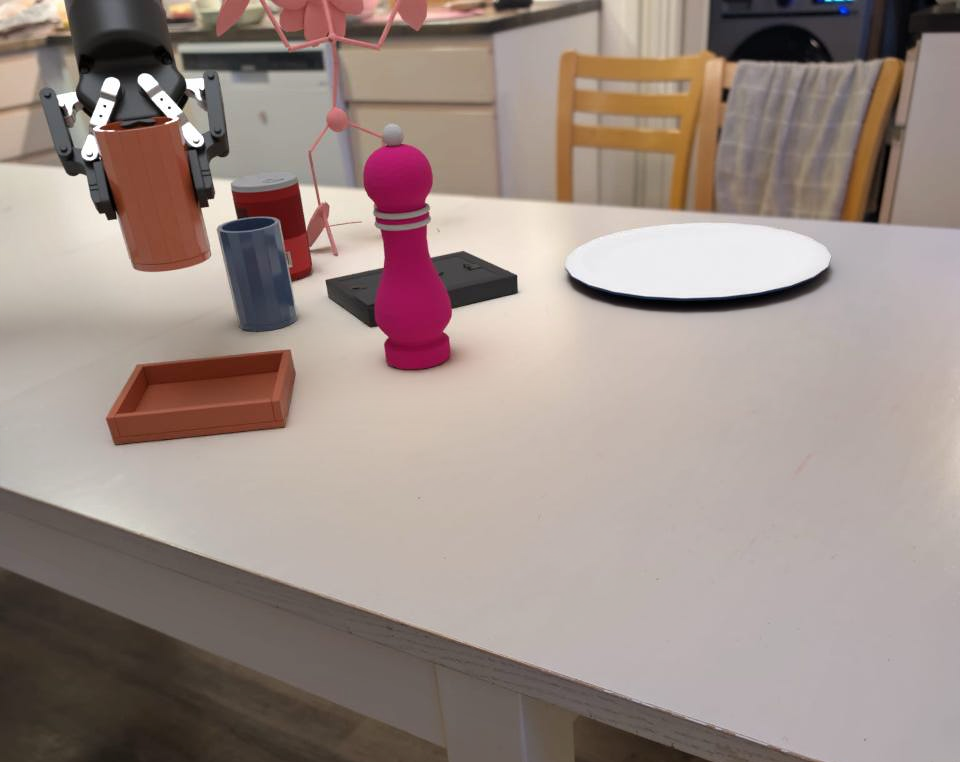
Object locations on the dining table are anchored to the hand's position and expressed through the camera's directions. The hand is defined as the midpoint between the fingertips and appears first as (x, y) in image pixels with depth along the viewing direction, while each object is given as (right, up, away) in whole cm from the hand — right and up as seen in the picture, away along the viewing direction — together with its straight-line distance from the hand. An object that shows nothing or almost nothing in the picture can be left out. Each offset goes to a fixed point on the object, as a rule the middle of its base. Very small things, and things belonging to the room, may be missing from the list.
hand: (157, 207), depth 73 cm
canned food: (0, +12, +44) cm, 46 cm away
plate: (+49, +8, +33) cm, 60 cm away
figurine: (+7, +21, +56) cm, 61 cm away
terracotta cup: (0, -3, +4) cm, 5 cm away
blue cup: (+2, +1, +29) cm, 30 cm away
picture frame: (+19, +5, +33) cm, 38 cm away
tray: (+1, -13, +11) cm, 17 cm away
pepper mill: (+19, -7, +17) cm, 27 cm away
